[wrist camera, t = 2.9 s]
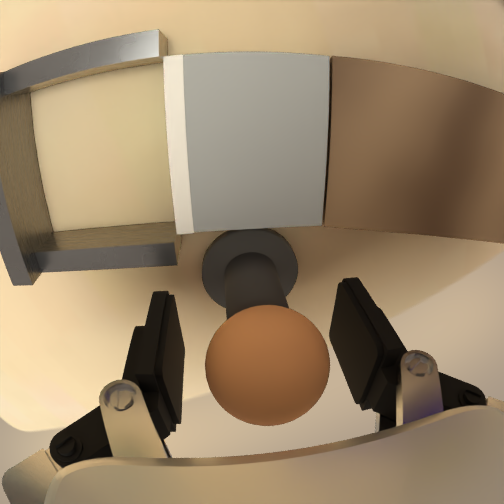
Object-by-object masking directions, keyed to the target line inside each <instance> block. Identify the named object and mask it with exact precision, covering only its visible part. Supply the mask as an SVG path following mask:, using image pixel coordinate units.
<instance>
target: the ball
mask: <svg viewBox="0 0 504 504" xmlns="http://www.w3.org/2000/svg"><path fill="white" fill-rule="evenodd" d="M205 370H206V378H207V382H208V385H209V388H210V390H211V392H212V394H213V396H214V397H215V399H216V400H217V402H218V403H219V404H220V405H221V407H222V408H224V409H225V410H226V411H227V412H228V413H229V414H231V415H232V416H234V417H236V418H237V419H240V420H242V421H244V422H246V423H250V424H254V425H261V426H274V425H280V424H284V423H287V422H290V421H293V420H295V419H297V418H299V417H300V416H302V415H303V414H305V413H306V412H308V411H309V410H310V409H311V408H312V407H313V406H314V405H315V404H316V402H317V401H318V400H319V398H320V397H321V395H322V394H323V391H324V389H325V387H326V385H327V382H328V377H329V371H330V358H329V353H328V349H327V345H326V343H325V341H324V339H323V337H322V335H321V333H320V332H319V330H318V329H317V328H316V326H315V325H314V324H313V323H312V322H311V321H309V320H308V319H307V318H306V317H305V316H303V315H301V314H300V313H298V312H296V311H294V310H292V309H289V308H286V307H282V306H276V305H261V306H255V307H250V308H247V309H244V310H242V311H240V312H238V313H236V314H235V315H233V316H232V317H230V318H229V319H228V320H226V321H225V322H224V323H223V324H222V325H221V326H220V327H219V329H218V330H217V331H216V333H215V334H214V336H213V338H212V340H211V342H210V344H209V347H208V350H207V353H206V361H205Z"/></svg>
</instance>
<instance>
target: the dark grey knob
mask: <svg viewBox="0 0 504 504" xmlns="http://www.w3.org/2000/svg"><path fill="white" fill-rule="evenodd" d="M297 274H298V265H297V260H296V257H295V255H294V252H293V250H292V248H291V246H290V245H289V243H288V242H287V240H286V239H285V238H284V237H283V236H281V235H280V234H279V233H277V232H275V231H273V230H271V229H269V228H260V229H241V230H229V231H227V232H225V233H223V234H222V235H220V236H219V237H218V238H217V239H215V240H214V241H213V243H212V244H211V245H210V246H209V248H208V249H207V251H206V253H205V256H204V259H203V266H202V280H203V284H204V287H205V289H206V291H207V293H208V294H209V296H210V297H211V298H212V299H213V300H214V301H215V302H216V303H218V304H219V305H221V306H222V307H224V308H226V315H227V320H228V319H229V318H230V317H232V316H233V315H235V314H236V313H238V312H240V311H242V310H244V309H247V308H250V307H255V306H261V305H276V306H282V307H286V308H289V307H288V304H287V301H286V298H285V297H286V296H287V295H288V294H289V293H290V291H291V290H292V288H293V286H294V284H295V282H296V279H297Z"/></svg>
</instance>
